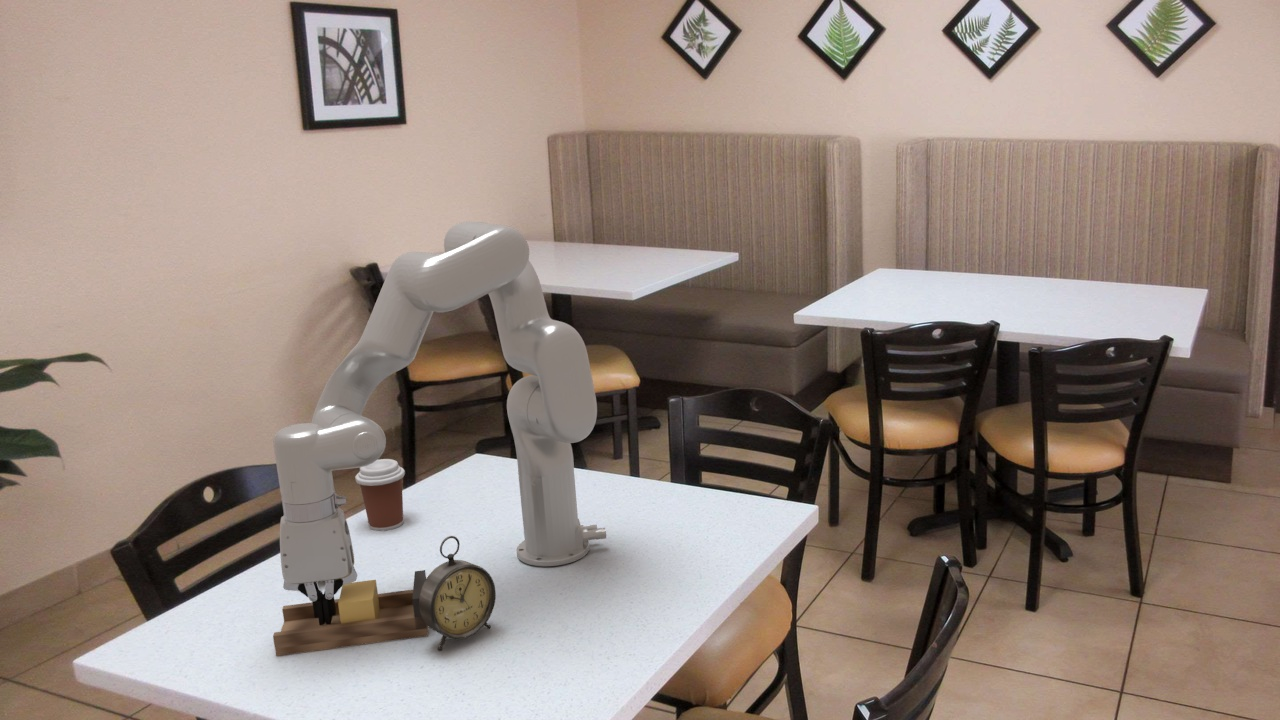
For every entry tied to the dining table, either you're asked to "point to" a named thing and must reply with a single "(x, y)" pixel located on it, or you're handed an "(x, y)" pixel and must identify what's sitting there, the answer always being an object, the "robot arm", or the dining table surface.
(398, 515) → the coffee cup
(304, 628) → the wooden tray
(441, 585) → the alarm clock
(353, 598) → the block
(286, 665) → the dining table surface
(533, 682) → the dining table surface
